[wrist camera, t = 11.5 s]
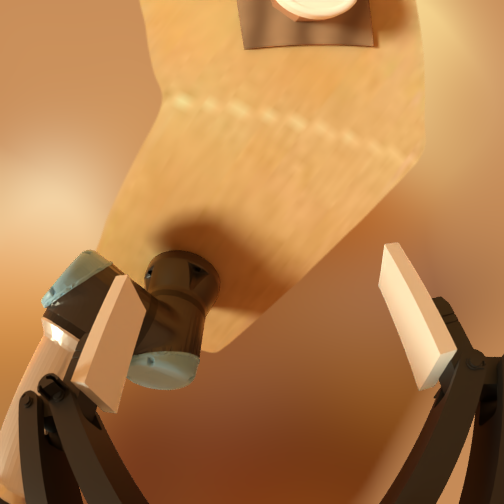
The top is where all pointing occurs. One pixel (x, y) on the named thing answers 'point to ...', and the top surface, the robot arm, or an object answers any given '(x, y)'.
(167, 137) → the top surface
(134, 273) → the top surface
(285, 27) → the board
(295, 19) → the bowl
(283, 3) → the cream flat cylinder
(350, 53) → the top surface
